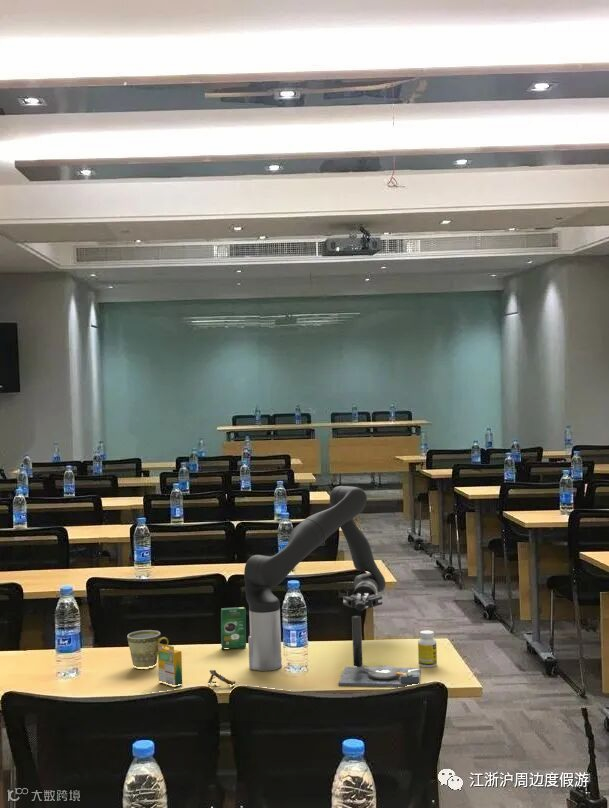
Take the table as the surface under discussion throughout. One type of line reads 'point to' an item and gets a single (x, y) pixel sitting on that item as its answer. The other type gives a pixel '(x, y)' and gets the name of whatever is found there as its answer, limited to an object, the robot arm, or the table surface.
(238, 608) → the coffee box
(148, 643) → the ceramic cup
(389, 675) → the upright bar with disc
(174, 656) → the crayon box
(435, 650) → the supplement bottle
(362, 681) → the base plate
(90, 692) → the table surface
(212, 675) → the wooden post with brackets
